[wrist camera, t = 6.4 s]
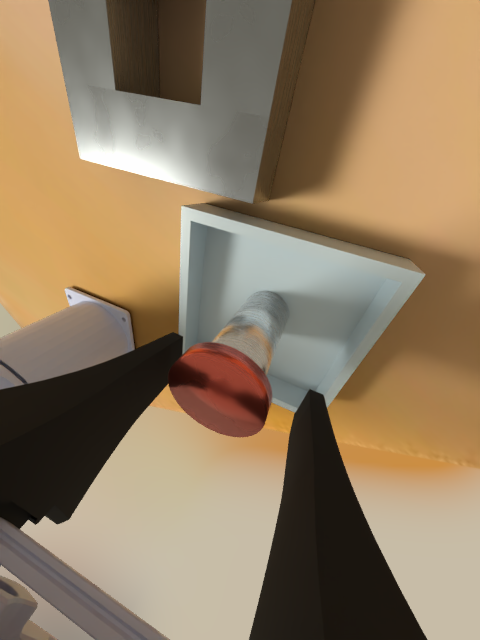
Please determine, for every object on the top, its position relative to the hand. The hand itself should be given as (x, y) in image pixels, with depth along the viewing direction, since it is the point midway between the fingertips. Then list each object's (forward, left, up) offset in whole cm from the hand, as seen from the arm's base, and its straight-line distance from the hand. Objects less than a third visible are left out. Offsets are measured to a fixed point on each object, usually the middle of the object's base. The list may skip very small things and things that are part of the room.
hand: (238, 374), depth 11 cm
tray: (0, 0, -6) cm, 6 cm away
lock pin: (0, 0, -6) cm, 6 cm away
